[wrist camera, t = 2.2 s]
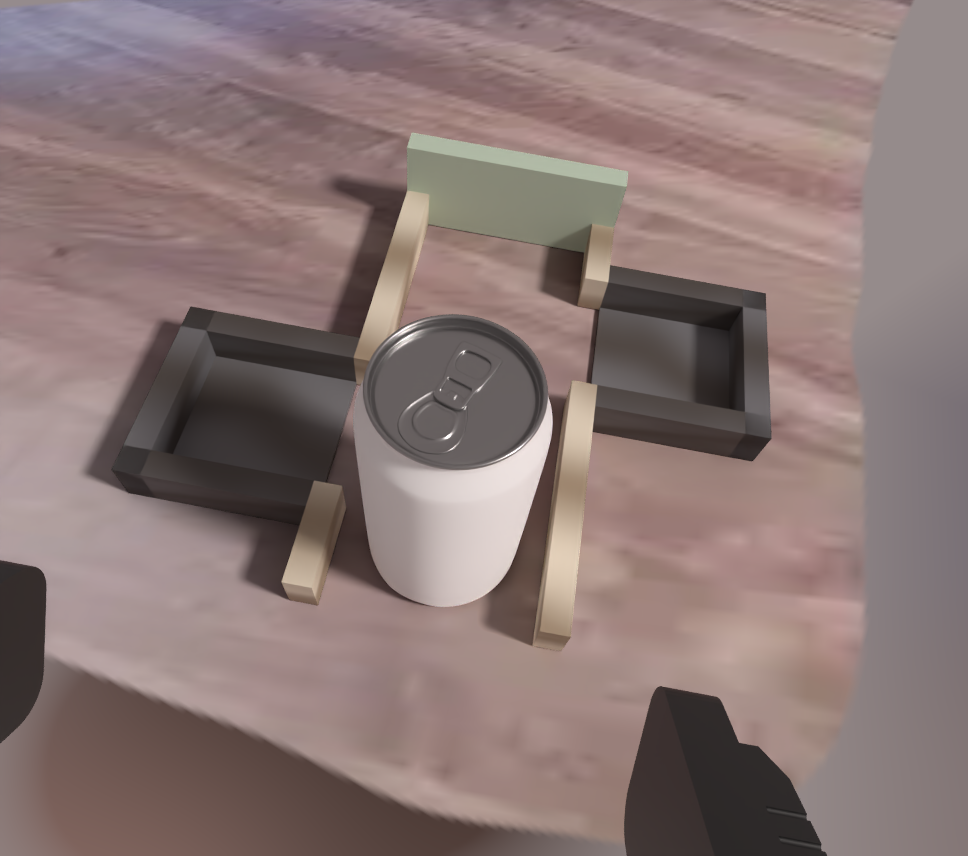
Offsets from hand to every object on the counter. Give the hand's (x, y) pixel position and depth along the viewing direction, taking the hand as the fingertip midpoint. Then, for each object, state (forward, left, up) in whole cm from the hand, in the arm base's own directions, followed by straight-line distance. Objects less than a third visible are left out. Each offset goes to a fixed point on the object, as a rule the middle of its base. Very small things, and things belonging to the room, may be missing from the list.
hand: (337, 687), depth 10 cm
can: (+8, +8, -21) cm, 23 cm away
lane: (+13, +13, -21) cm, 27 cm away
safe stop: (+21, +21, -21) cm, 36 cm away
